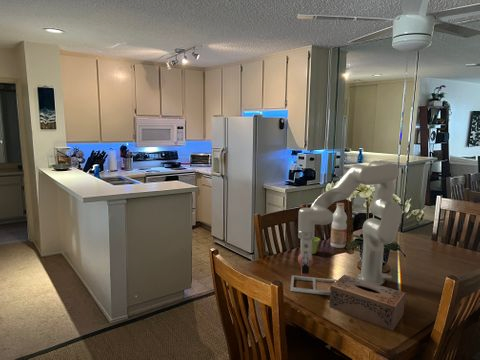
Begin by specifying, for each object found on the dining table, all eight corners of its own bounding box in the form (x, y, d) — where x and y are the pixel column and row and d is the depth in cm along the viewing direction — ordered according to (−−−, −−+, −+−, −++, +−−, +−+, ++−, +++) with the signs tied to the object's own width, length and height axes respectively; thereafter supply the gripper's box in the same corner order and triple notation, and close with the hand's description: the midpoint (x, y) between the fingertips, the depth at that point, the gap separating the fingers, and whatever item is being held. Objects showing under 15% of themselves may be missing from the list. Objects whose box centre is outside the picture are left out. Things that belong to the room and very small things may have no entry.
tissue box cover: (403, 315, 140) (405, 292, 139) (392, 331, 129) (395, 306, 128) (342, 295, 157) (344, 274, 155) (329, 307, 146) (330, 285, 144)
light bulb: (309, 280, 159) (310, 256, 157) (295, 277, 163) (295, 253, 161) (314, 275, 165) (315, 251, 163) (301, 271, 169) (301, 248, 167)
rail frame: (336, 282, 168) (336, 279, 168) (339, 296, 155) (339, 293, 154) (291, 278, 172) (291, 275, 172) (290, 291, 159) (290, 288, 159)
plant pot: (303, 249, 213) (303, 235, 212) (318, 250, 212) (319, 236, 211) (303, 254, 204) (304, 240, 203) (319, 255, 203) (320, 241, 202)
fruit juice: (327, 243, 224) (330, 202, 220) (340, 242, 226) (343, 201, 222) (334, 248, 215) (337, 205, 211) (348, 247, 217) (351, 204, 213)
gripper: (314, 240, 151) (313, 278, 154) (314, 229, 168) (313, 263, 171) (297, 240, 153) (296, 277, 156) (298, 228, 170) (297, 262, 172)
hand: (305, 269), depth 163 cm, fingers closed on light bulb, 6 cm apart
